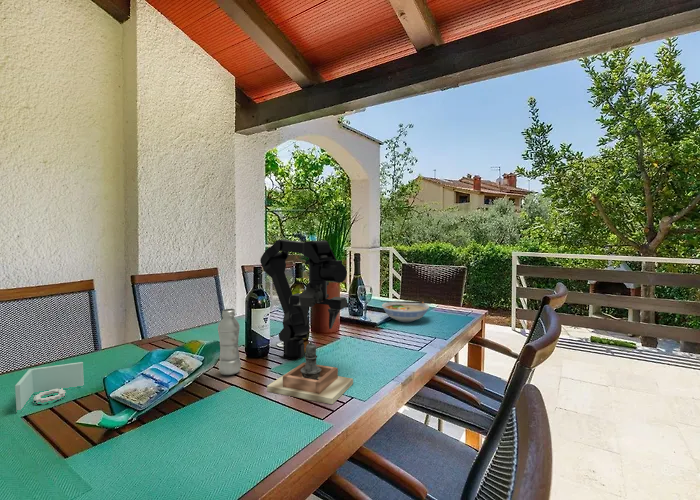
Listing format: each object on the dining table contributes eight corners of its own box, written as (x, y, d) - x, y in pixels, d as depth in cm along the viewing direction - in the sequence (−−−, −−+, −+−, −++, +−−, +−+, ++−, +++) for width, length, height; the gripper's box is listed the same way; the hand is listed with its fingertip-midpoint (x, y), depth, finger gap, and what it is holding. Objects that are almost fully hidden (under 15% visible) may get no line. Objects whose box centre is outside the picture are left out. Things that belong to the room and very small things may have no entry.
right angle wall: (16, 415, 93) (15, 385, 93) (30, 396, 104) (29, 369, 103) (76, 404, 99) (75, 376, 98) (83, 387, 109) (82, 361, 109)
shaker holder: (267, 391, 106) (266, 375, 105) (293, 373, 119) (293, 359, 118) (332, 404, 98) (332, 387, 98) (353, 383, 111) (353, 368, 110)
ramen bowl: (377, 325, 175) (377, 308, 175) (381, 314, 198) (381, 298, 197) (432, 328, 171) (433, 310, 171) (430, 316, 194) (430, 300, 193)
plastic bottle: (245, 371, 120) (244, 308, 119) (230, 379, 114) (228, 313, 112) (229, 368, 123) (228, 306, 121) (213, 375, 116) (212, 311, 115)
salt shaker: (318, 387, 105) (317, 344, 104) (297, 385, 106) (297, 342, 105) (323, 378, 110) (323, 338, 110) (304, 377, 112) (304, 336, 111)
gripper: (279, 280, 119) (279, 329, 120) (332, 285, 112) (332, 337, 113) (298, 276, 130) (298, 321, 131) (348, 280, 122) (347, 328, 123)
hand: (317, 327), depth 124 cm, fingers open, 9 cm apart
